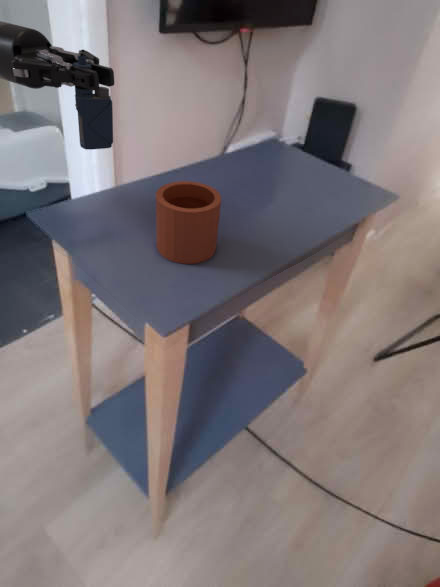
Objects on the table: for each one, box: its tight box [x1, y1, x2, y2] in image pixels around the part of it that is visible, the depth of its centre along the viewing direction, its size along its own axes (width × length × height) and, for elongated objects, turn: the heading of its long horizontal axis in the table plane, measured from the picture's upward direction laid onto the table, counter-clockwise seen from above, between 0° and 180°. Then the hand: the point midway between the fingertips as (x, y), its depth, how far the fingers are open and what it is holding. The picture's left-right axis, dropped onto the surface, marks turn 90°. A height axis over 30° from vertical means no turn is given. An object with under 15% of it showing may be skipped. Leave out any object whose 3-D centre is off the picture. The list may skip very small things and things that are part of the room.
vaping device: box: [73, 56, 114, 150], centre depth 56 cm, size 3×5×12 cm, turn 125°
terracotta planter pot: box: [155, 180, 222, 265], centre depth 67 cm, size 11×11×10 cm
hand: (104, 79), depth 52 cm, fingers closed on vaping device, 2 cm apart
